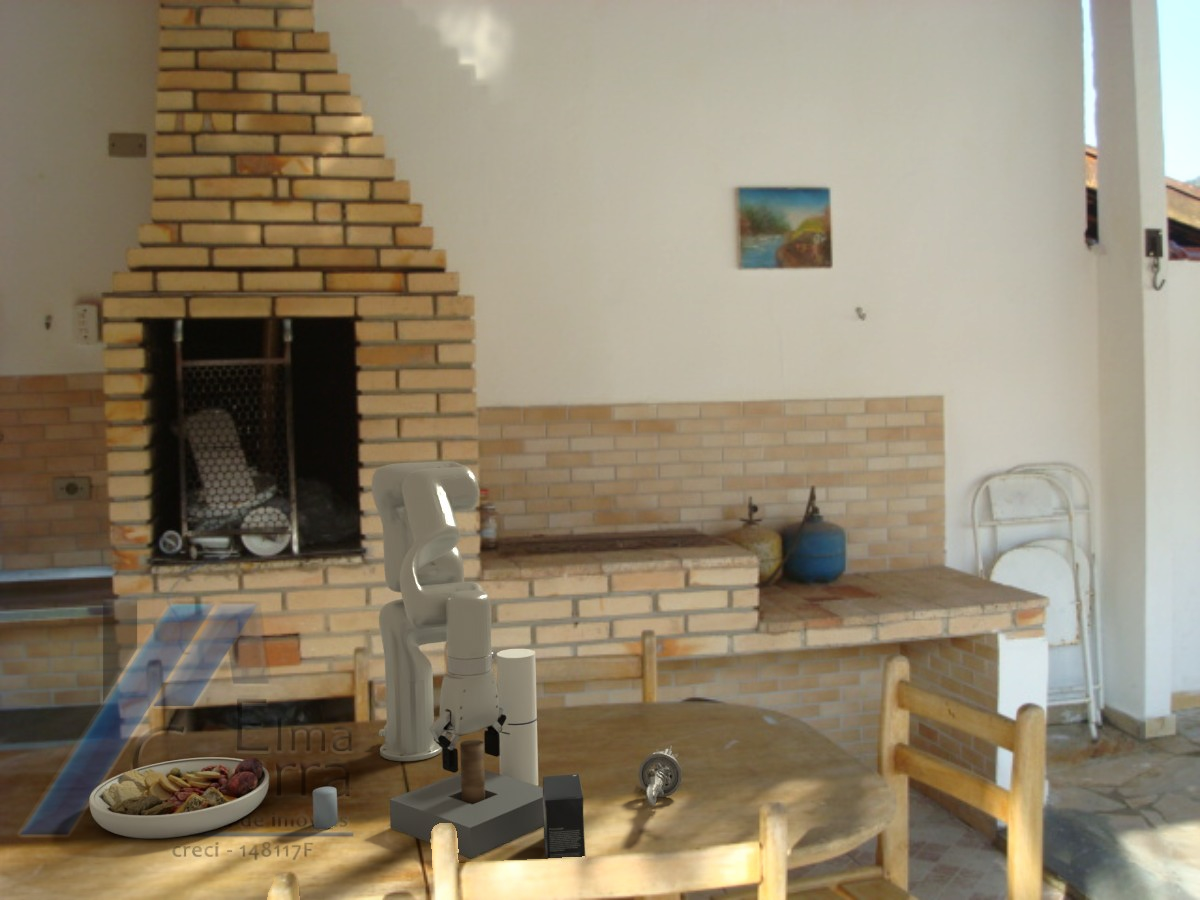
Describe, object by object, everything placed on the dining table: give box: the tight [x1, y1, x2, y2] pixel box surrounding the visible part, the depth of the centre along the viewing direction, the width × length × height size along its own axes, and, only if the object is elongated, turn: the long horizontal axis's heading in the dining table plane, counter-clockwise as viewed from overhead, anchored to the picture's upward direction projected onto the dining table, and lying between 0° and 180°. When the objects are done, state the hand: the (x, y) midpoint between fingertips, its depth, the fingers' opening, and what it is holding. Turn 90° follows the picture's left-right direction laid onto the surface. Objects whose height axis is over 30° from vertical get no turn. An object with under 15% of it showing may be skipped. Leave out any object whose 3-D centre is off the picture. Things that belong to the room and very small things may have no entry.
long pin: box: [459, 739, 486, 805], centre depth 194 cm, size 4×4×14 cm
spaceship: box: [637, 745, 683, 807], centre depth 205 cm, size 8×35×8 cm
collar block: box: [389, 769, 544, 859], centre depth 194 cm, size 20×20×5 cm
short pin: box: [312, 786, 339, 830], centre depth 195 cm, size 4×4×6 cm
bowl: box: [88, 756, 270, 839], centre depth 203 cm, size 30×30×8 cm
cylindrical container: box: [496, 648, 539, 786], centre depth 211 cm, size 7×7×25 cm
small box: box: [542, 773, 586, 859], centre depth 183 cm, size 11×6×10 cm, turn 5°
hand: (471, 762), depth 194 cm, fingers open, 9 cm apart
